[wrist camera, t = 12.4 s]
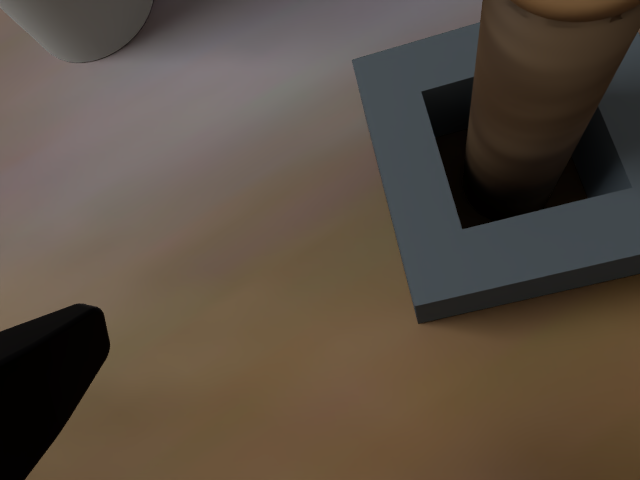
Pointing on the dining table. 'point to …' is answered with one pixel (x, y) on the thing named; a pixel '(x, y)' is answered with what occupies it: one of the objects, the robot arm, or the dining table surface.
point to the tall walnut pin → (537, 94)
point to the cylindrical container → (79, 25)
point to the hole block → (511, 233)
